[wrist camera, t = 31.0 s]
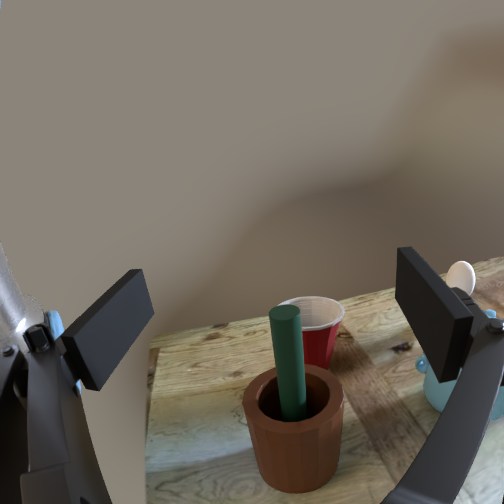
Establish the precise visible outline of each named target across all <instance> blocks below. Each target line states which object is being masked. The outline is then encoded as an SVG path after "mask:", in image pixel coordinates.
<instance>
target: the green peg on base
mask: <svg viewBox="0 0 504 504" xmlns="http://www.w3.org/2000/svg"><path fill="white" fill-rule="evenodd" d="M269 319H270V327H271V334H272V342H273V350H274V357H275V365H276V373H277V381H278V388H279V396H280V404H281V412H282V420H283V422H300V421H303V420H307V406H306V386H305V369H304V353H303V338H302V324H301V311H300V309H299V307H297V306H295V305H291V304H284V305H279V306H276V307H274V308H272V309H271V310H270V312H269Z"/></svg>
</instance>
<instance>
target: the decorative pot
mask: <svg viewBox="0 0 504 504" xmlns="http://www.w3.org/2000/svg"><path fill="white" fill-rule="evenodd" d="M484 313H485V314H486V315H487V316H488V317H489V318H496V312H495V311H493V310H485V311H484ZM498 319H499V318H498ZM501 320H502V319H501ZM423 354H424V355H422V356H420V357H418V358H417V360H416V362H415V367H416V369H417V370H418V371H419V372H421V373H426V375H425V379H424V385H423V386H424V393H425V396H426V398H427V399H428V401H429V403H430V404H431V405H432V406H433V407H434V408H435V409H436V410H438V411H439V412H441V413H442V411H443V409H444V407H445V405H446V403H447V401H448V399H449V397H450V395H451V393H452V391H453V389H454V386H455V384H456V382H457V380H458V378H459V375H460V373H461V371H462V368H460V371H459V375H458V378H457V380H453V381H449V382H445V383H440V384H439V382H438V380H437V378H436V376H435V374H434V372H433V370H432V368H431V366H430V364H429V361H428V359H427V357H426V355H425V353H424V351H423ZM422 361H423V362H425V364H424V363H422ZM502 415H504V386H500V388H499V392H498V395H497V398H496V402H495V405H494V408H493V411H492V414H491V417H490V420H489V421H492V420H495V419H497V418H499V417H501V416H502Z"/></svg>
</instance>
